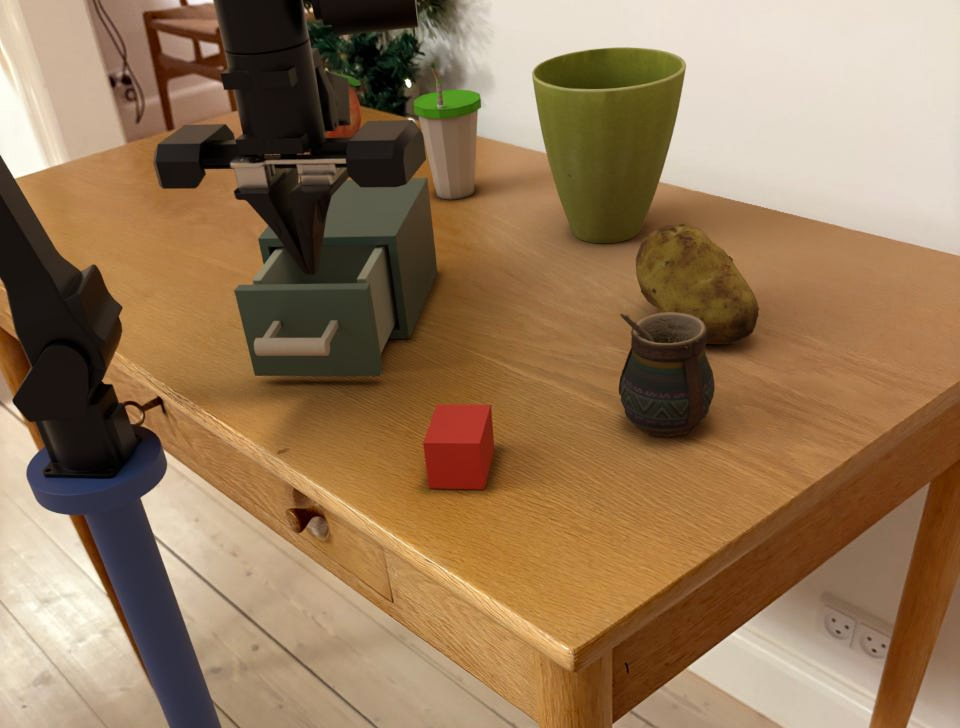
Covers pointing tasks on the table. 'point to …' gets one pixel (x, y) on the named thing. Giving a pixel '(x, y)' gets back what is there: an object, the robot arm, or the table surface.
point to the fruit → (354, 114)
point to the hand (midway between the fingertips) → (312, 272)
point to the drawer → (320, 313)
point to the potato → (696, 282)
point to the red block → (459, 447)
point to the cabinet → (384, 238)
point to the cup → (450, 137)
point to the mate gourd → (667, 374)
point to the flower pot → (608, 134)
